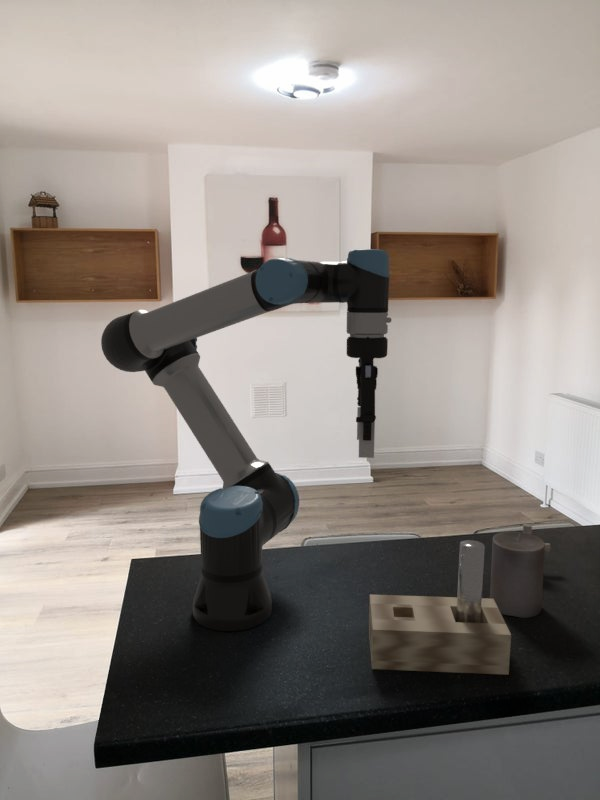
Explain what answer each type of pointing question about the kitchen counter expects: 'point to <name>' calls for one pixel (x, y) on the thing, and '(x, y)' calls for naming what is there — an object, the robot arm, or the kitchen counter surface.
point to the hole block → (436, 636)
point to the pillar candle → (517, 573)
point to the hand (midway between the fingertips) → (364, 448)
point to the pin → (470, 581)
